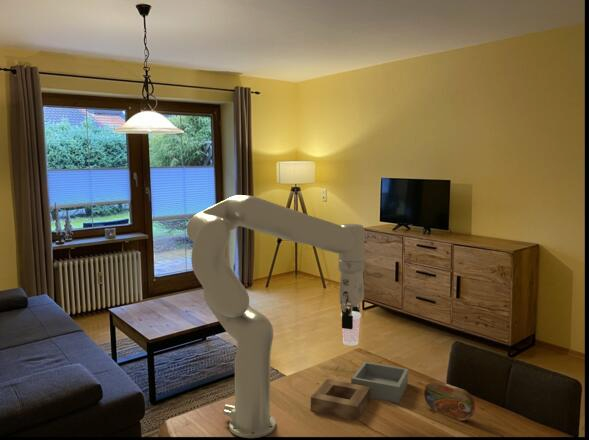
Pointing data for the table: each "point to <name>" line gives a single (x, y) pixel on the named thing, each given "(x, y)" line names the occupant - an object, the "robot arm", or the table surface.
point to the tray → (382, 380)
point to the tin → (449, 400)
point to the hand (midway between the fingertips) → (350, 324)
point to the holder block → (340, 399)
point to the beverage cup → (352, 330)
